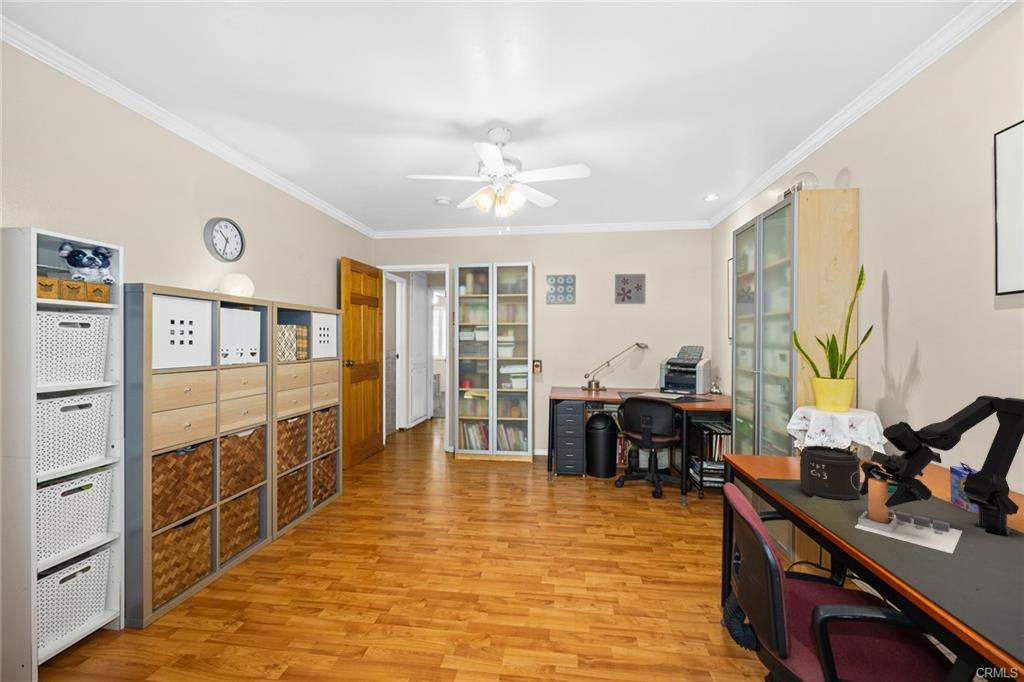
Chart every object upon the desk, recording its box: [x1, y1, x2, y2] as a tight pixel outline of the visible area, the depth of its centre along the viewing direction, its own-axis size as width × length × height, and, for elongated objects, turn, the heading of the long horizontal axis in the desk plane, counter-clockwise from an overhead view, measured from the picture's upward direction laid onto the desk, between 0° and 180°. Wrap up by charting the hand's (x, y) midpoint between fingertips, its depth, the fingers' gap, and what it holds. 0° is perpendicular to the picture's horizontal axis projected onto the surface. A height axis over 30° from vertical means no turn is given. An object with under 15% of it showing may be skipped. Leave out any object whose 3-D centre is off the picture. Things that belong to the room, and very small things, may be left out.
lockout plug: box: [867, 478, 889, 524], centre depth 127 cm, size 4×4×13 cm
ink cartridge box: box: [949, 461, 978, 514], centre depth 142 cm, size 10×6×14 cm, turn 164°
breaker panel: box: [854, 508, 963, 554], centre depth 124 cm, size 20×20×3 cm
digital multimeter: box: [887, 480, 898, 493], centre depth 159 cm, size 7×15×3 cm, turn 54°
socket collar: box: [857, 510, 898, 533], centre depth 127 cm, size 8×8×2 cm
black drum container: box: [798, 445, 861, 501], centre depth 155 cm, size 18×18×16 cm
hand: (873, 500), depth 127 cm, fingers open, 9 cm apart
